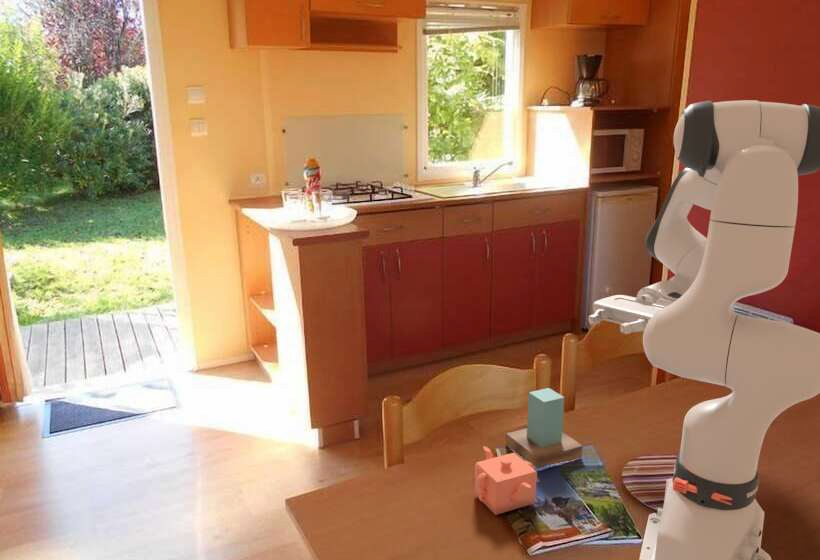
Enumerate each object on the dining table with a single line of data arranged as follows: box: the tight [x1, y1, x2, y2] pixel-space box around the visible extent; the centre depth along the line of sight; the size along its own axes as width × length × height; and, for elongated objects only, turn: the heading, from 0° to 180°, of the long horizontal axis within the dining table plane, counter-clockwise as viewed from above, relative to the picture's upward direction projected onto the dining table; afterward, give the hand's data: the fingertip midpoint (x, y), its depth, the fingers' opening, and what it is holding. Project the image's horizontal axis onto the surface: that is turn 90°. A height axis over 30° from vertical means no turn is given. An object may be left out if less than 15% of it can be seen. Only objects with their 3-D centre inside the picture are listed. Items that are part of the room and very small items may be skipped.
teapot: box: [474, 446, 538, 516], centre depth 116 cm, size 12×15×8 cm
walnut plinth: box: [505, 427, 584, 469], centre depth 133 cm, size 11×11×3 cm
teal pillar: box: [526, 387, 565, 448], centre depth 131 cm, size 5×5×10 cm
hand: (606, 325), depth 131 cm, fingers open, 8 cm apart
